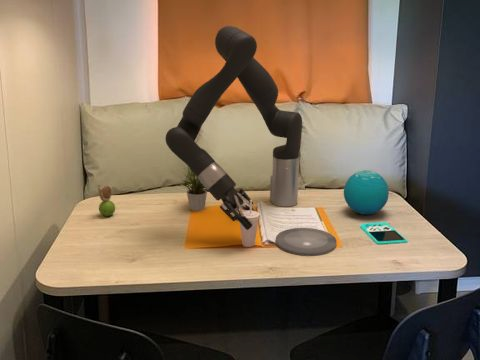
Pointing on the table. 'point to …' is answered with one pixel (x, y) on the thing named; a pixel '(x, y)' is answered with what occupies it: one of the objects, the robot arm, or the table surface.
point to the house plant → (195, 192)
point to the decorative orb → (366, 192)
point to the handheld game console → (382, 233)
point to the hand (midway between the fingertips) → (254, 223)
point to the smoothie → (250, 234)
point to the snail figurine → (106, 201)
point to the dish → (306, 241)
